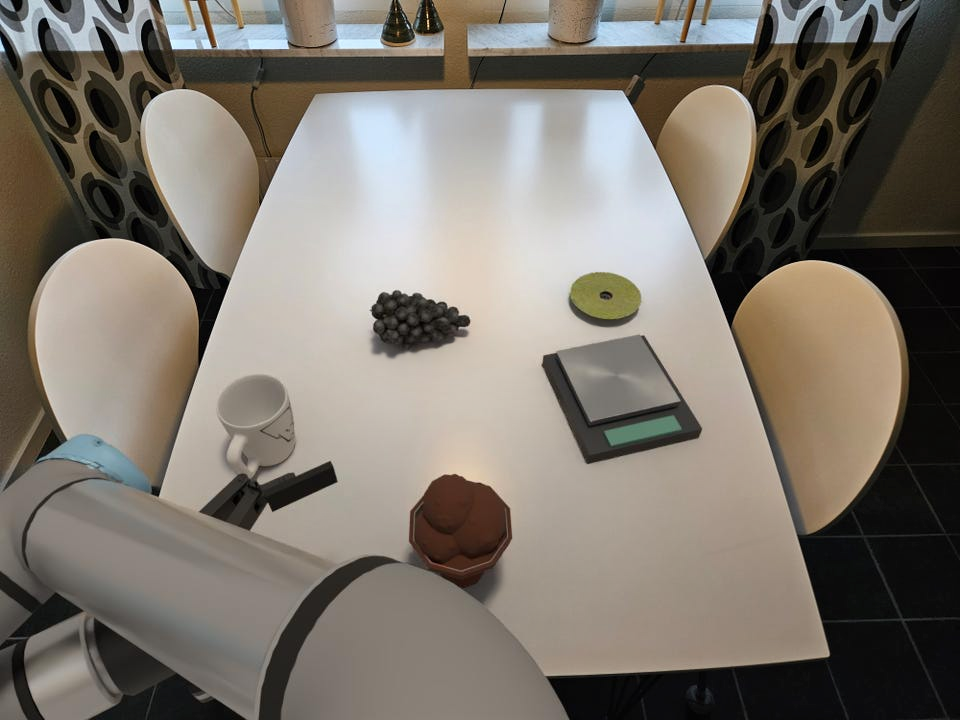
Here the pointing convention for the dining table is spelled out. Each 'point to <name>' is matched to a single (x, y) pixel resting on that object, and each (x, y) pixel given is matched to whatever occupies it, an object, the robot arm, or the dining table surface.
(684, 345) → the dining table surface
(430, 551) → the ice cream bowl
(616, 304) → the mat
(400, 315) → the fruit
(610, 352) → the scale pan
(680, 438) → the scale
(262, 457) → the mug
